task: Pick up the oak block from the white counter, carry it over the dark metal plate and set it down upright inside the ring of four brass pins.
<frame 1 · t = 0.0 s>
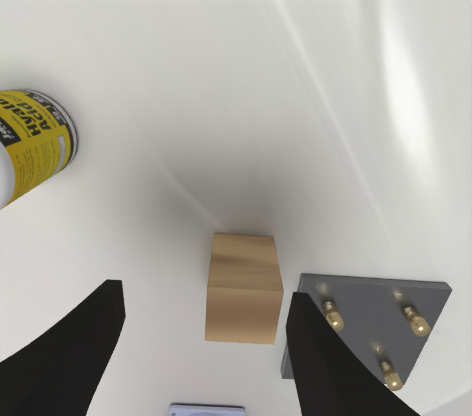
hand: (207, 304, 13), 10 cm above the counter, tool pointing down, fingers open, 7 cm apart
oak block: (241, 259, 24), on the counter
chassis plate: (356, 330, 28), on the counter
supplement bottle: (38, 131, 20), on the counter
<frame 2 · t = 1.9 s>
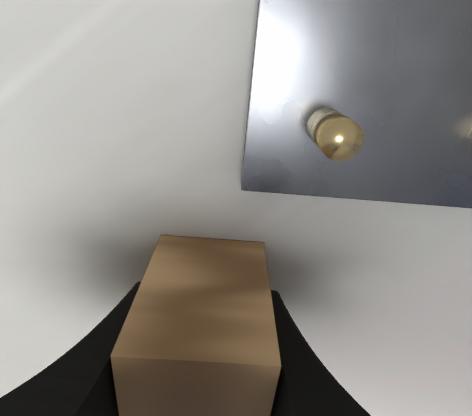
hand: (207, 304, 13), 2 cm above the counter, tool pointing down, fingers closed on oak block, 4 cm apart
oak block: (210, 279, 14), on the counter, touching gripper
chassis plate: (446, 21, 10), on the counter
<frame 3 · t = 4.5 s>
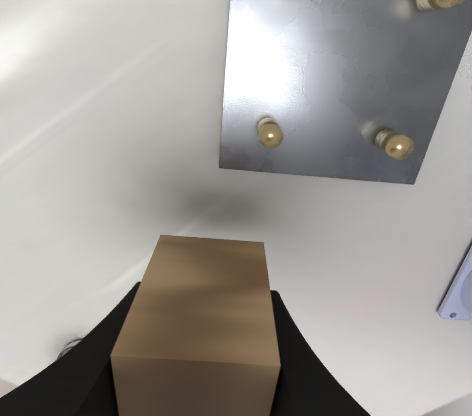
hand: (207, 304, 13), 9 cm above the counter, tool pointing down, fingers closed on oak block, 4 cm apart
oak block: (210, 279, 15), point 7 cm above the counter, touching gripper
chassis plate: (337, 67, 17), on the counter
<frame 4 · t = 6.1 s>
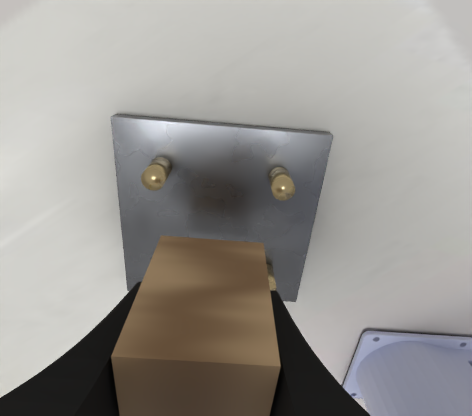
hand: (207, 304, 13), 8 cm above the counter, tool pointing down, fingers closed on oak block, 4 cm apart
oak block: (210, 279, 15), point 6 cm above the counter, touching gripper
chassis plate: (217, 217, 20), on the counter
when the fingers open (3 cm above the counter, at t = 7.5 s): oak block stays where it is, resting on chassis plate.
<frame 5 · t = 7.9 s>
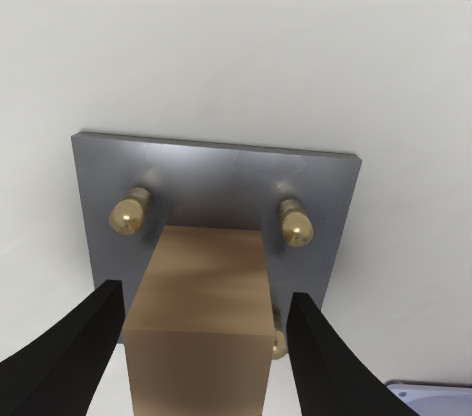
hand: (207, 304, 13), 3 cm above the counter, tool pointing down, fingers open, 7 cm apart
oak block: (211, 266, 15), point 1 cm above the counter, touching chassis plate
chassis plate: (212, 256, 16), on the counter
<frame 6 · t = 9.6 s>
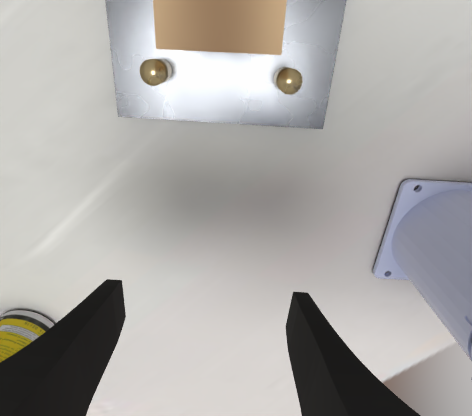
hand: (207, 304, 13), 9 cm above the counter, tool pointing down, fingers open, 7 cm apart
oak block: (225, 1, 15), point 1 cm above the counter, touching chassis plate
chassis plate: (226, 3, 16), on the counter
supplement bottle: (31, 328, 27), on the counter
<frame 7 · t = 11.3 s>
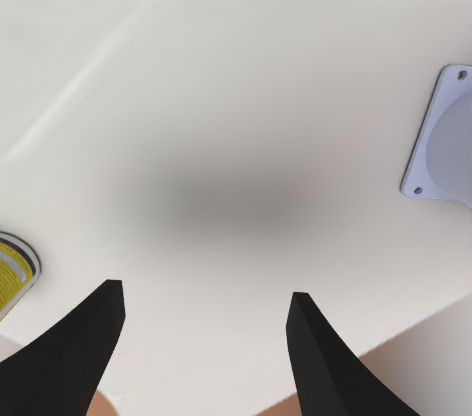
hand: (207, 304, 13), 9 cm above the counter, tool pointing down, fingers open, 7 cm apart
supplement bottle: (7, 258, 24), on the counter
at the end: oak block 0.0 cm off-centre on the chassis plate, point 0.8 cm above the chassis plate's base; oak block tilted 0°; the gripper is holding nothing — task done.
